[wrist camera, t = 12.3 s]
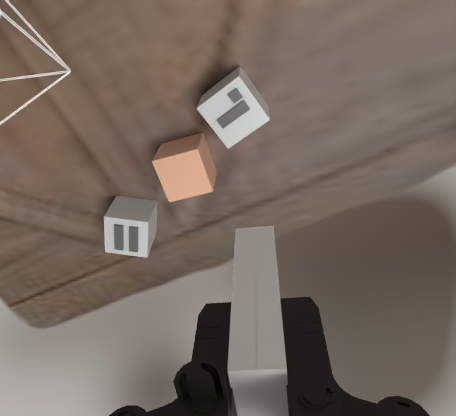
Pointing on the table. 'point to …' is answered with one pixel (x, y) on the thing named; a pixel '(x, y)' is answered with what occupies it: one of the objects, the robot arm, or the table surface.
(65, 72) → the geometric polyhedron
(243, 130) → the marked cube
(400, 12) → the table surface
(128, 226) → the marked cube
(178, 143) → the plain cube
